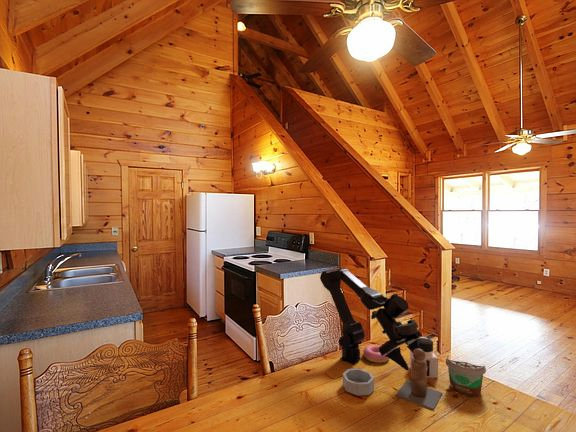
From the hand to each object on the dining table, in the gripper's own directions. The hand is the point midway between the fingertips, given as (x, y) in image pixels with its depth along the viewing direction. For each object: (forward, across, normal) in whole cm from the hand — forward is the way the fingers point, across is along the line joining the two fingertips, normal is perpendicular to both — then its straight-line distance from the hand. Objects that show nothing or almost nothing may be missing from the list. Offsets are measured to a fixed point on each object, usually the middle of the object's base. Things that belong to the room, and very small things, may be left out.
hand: (415, 365), depth 106 cm
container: (+3, +15, +11) cm, 19 cm away
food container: (+14, +14, 0) cm, 20 cm away
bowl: (-3, -13, +17) cm, 21 cm away
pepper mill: (+7, 0, +5) cm, 9 cm away
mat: (+8, 0, +6) cm, 10 cm away
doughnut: (-10, +10, +24) cm, 28 cm away
